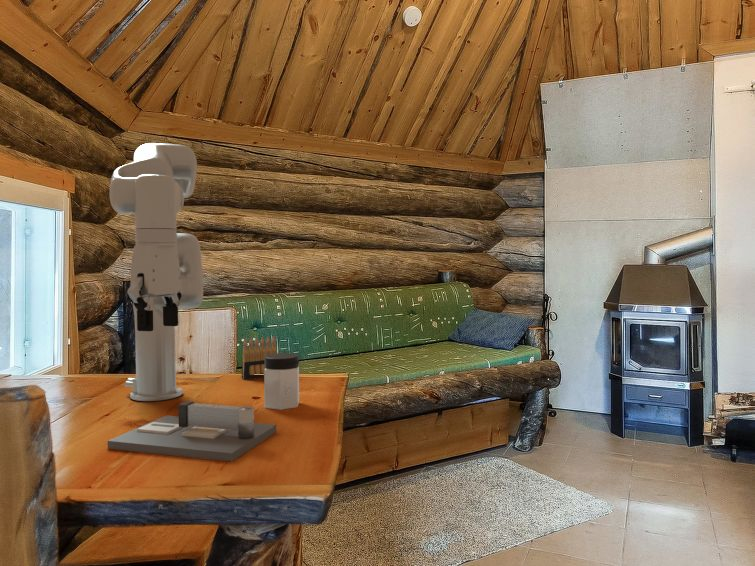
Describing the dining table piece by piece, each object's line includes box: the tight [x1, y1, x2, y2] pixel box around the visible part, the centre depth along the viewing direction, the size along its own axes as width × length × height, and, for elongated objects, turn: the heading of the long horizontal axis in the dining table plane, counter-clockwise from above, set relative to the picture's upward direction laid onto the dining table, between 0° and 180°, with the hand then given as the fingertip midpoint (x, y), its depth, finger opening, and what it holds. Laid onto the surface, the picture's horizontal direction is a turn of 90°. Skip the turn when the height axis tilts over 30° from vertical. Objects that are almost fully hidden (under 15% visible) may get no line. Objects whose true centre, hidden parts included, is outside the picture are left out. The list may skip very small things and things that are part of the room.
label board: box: [107, 415, 277, 462], centre depth 118 cm, size 26×18×2 cm
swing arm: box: [177, 400, 255, 438], centre depth 116 cm, size 15×3×5 cm, turn 74°
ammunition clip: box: [241, 335, 278, 381], centre depth 176 cm, size 11×2×12 cm, turn 123°
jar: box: [263, 352, 300, 411], centre depth 144 cm, size 9×8×12 cm
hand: (158, 327), depth 119 cm, fingers open, 7 cm apart
